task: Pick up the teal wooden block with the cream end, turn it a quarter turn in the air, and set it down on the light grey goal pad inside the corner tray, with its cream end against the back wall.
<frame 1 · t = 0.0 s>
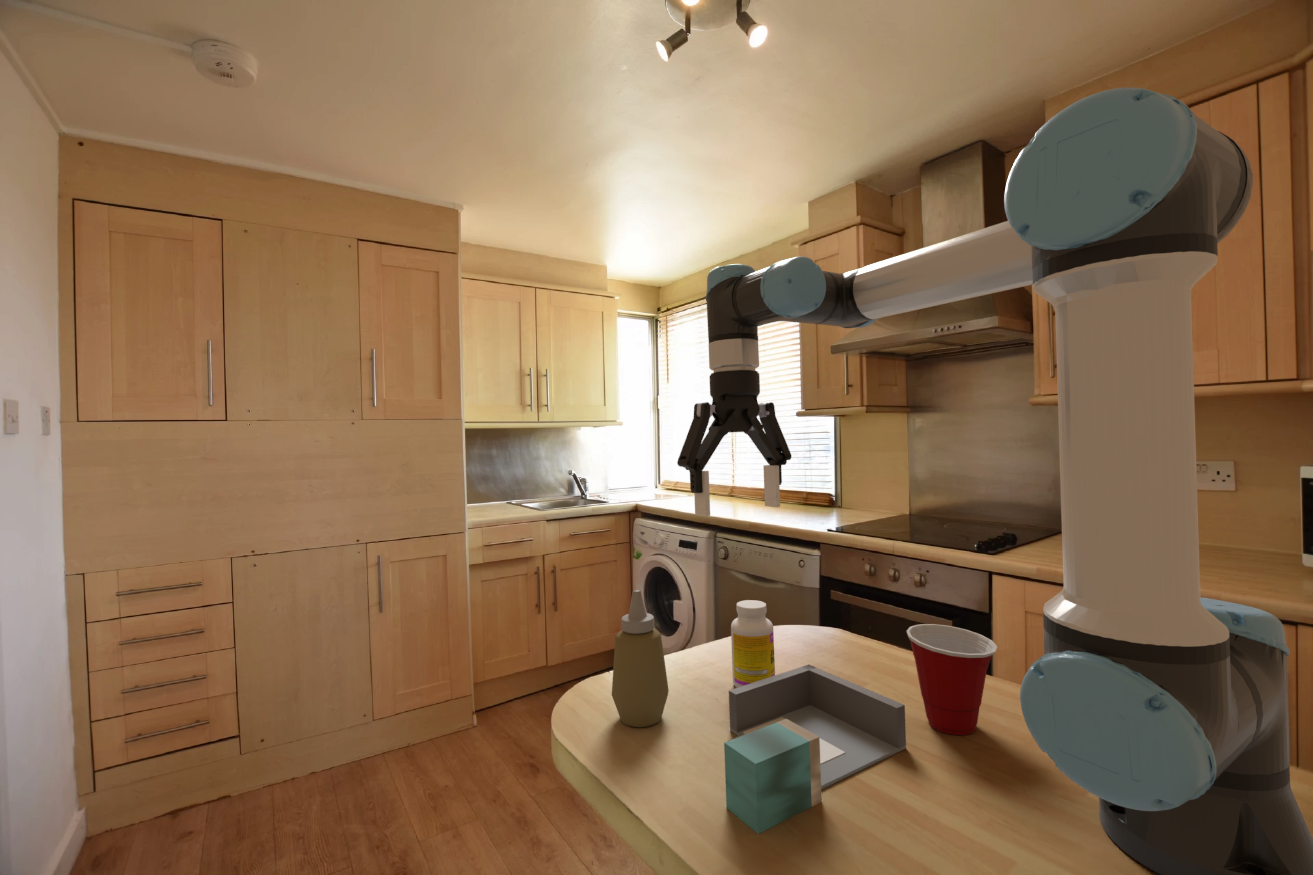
hand: (738, 511, 89), 28 cm above the counter, fingers open, 13 cm apart
plastic cup: (953, 726, 78), on the counter
supplement bottle: (754, 686, 93), on the counter
squeeze bottle: (641, 719, 83), on the counter
teal block: (804, 790, 65), on the counter
corner tray: (814, 738, 76), on the counter
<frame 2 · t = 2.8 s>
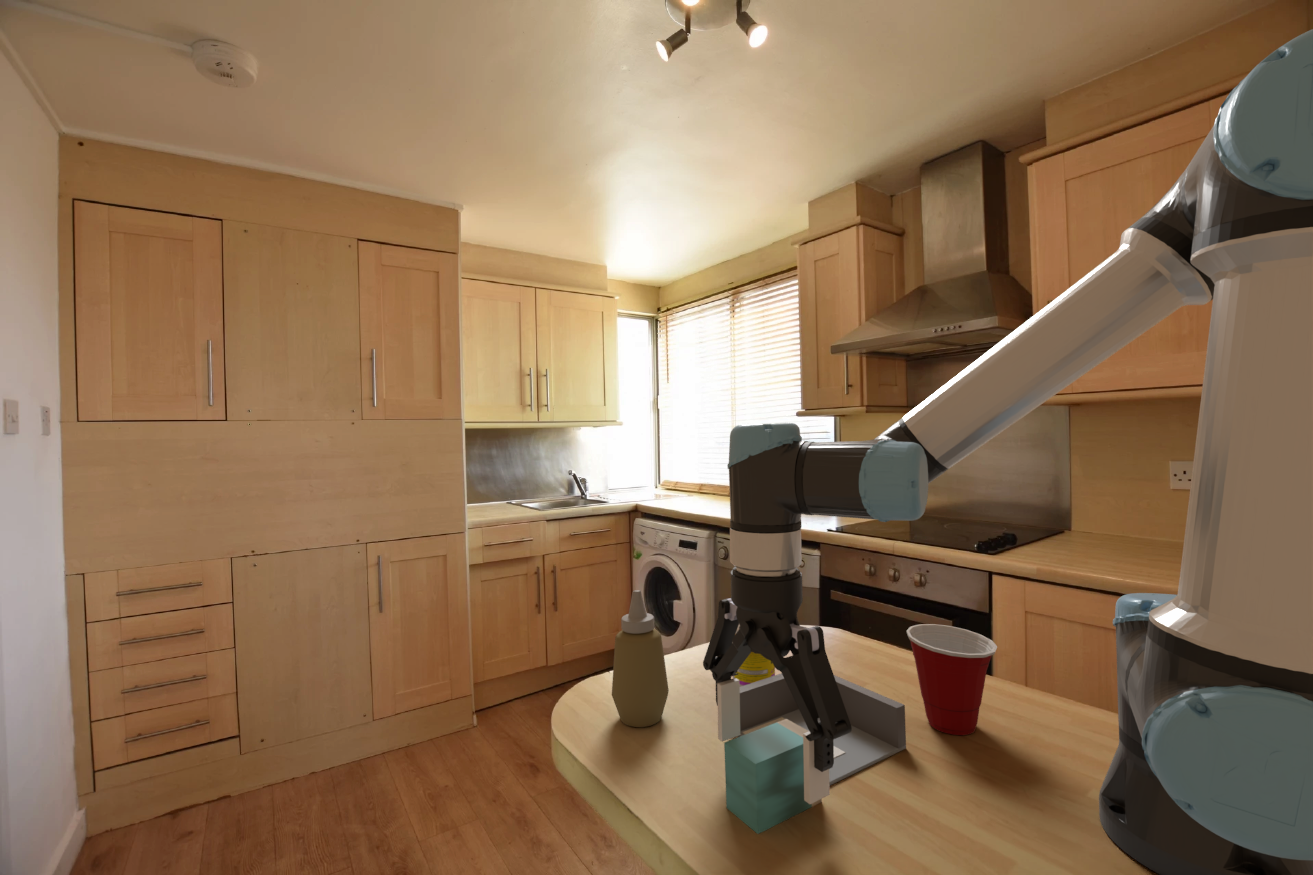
hand: (769, 764, 63), 4 cm above the counter, fingers open, 13 cm apart
nothing on the counter moved.
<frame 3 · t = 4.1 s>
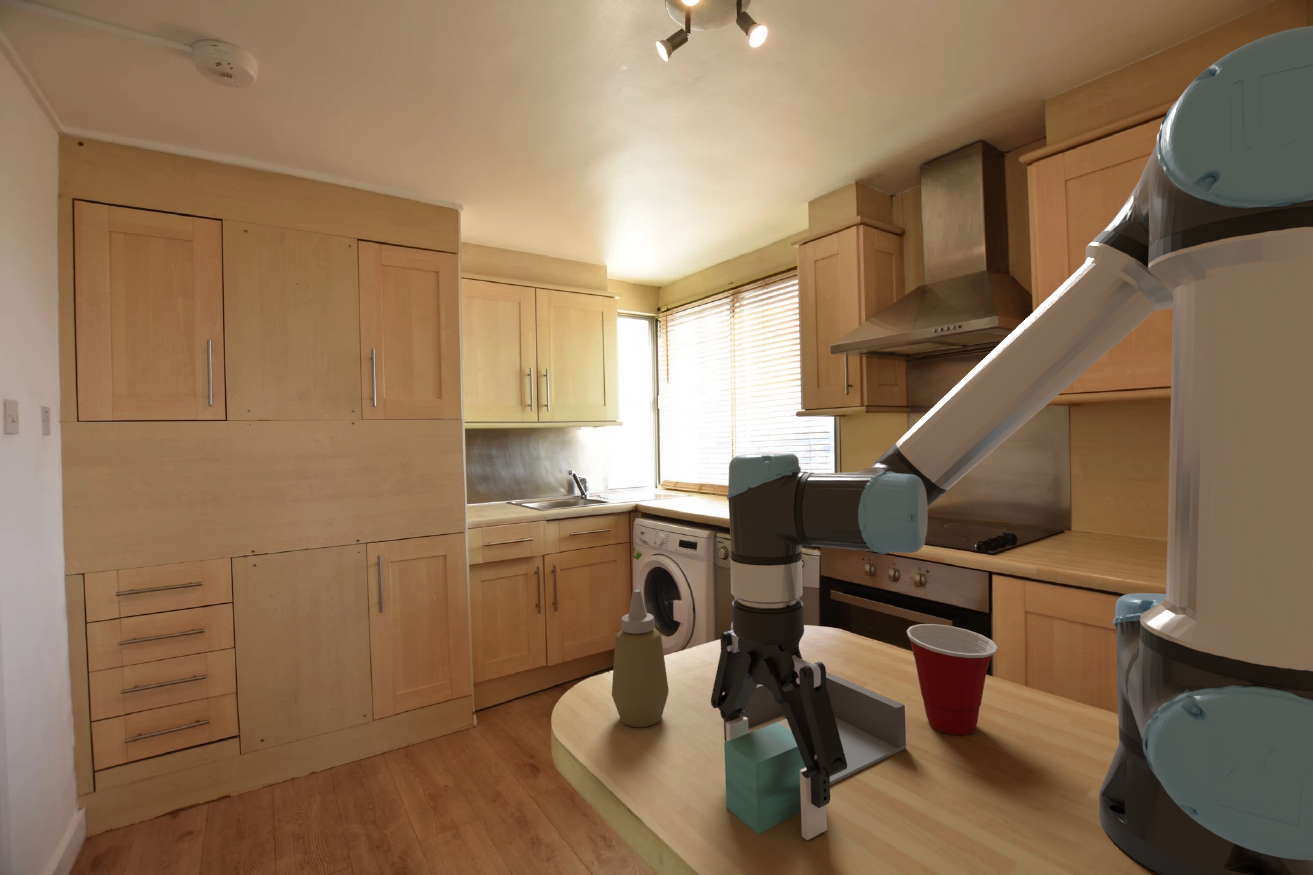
hand: (773, 802, 63), 0 cm above the counter, fingers open, 11 cm apart
nothing on the counter moved.
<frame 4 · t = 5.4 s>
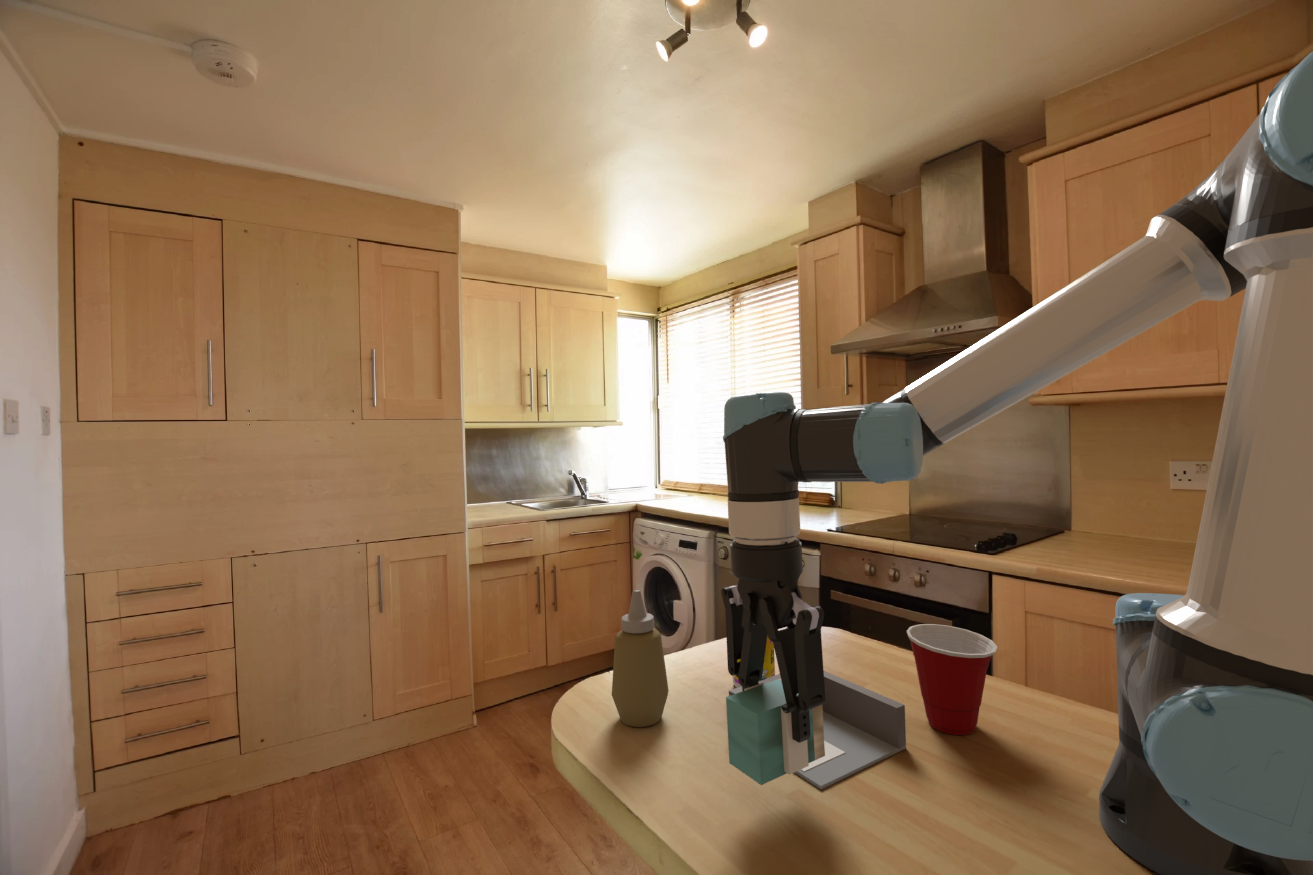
hand: (777, 756, 63), 5 cm above the counter, fingers closed on teal block, 5 cm apart
teal block: (807, 746, 65), point 5 cm above the counter, touching gripper
everything else where it was.
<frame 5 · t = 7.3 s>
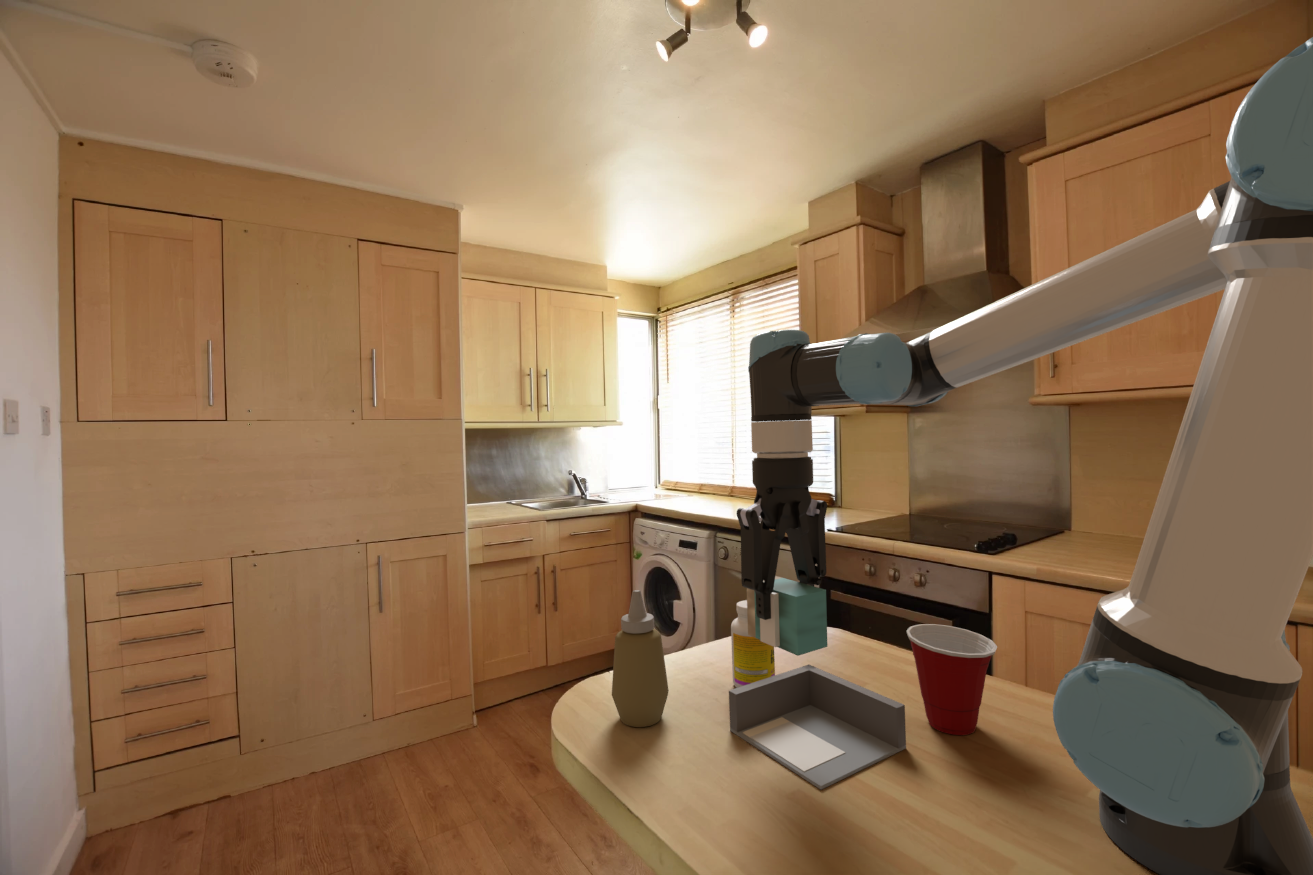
hand: (786, 638, 75), 14 cm above the counter, fingers closed on teal block, 5 cm apart
teal block: (762, 630, 79), point 13 cm above the counter, touching gripper
everything else where it was.
when the fingers open (1 cm above the counter, at t = 9.5 s): teal block stays where it is, resting on corner tray.
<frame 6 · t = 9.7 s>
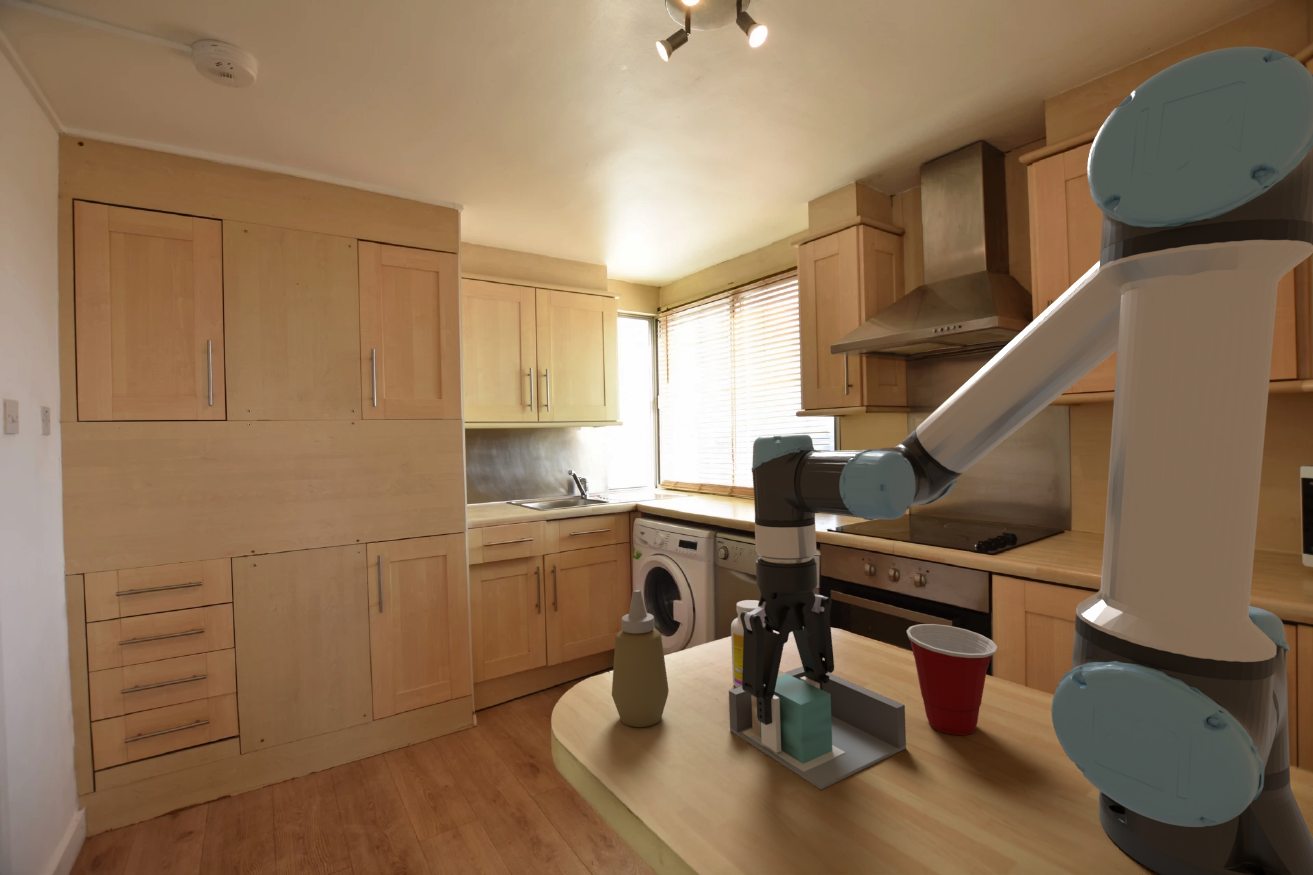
hand: (791, 738, 75), 1 cm above the counter, fingers open, 6 cm apart
teal block: (767, 726, 79), resting on corner tray
everything else where it was.
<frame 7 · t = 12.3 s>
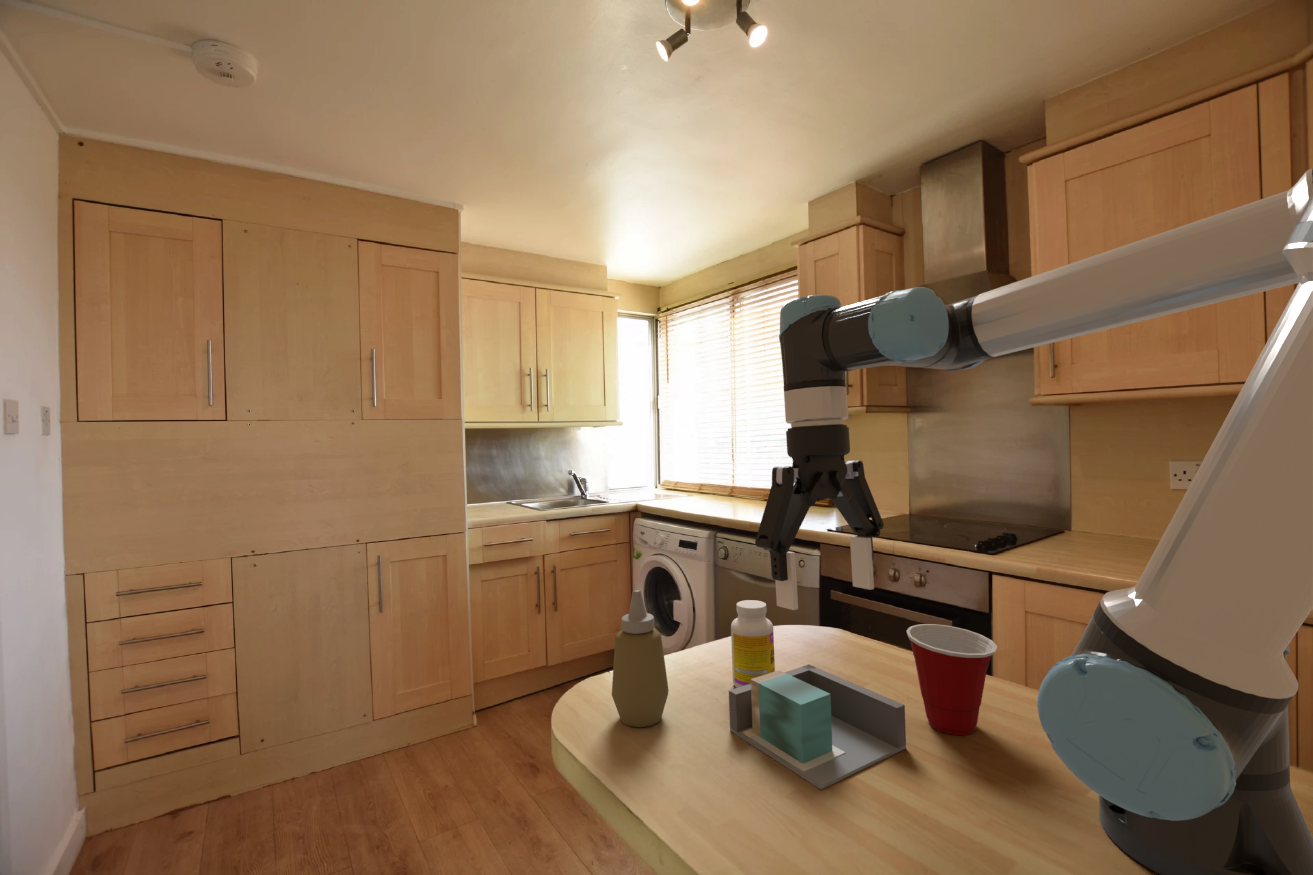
hand: (827, 597, 72), 19 cm above the counter, fingers open, 13 cm apart
nothing on the counter moved.
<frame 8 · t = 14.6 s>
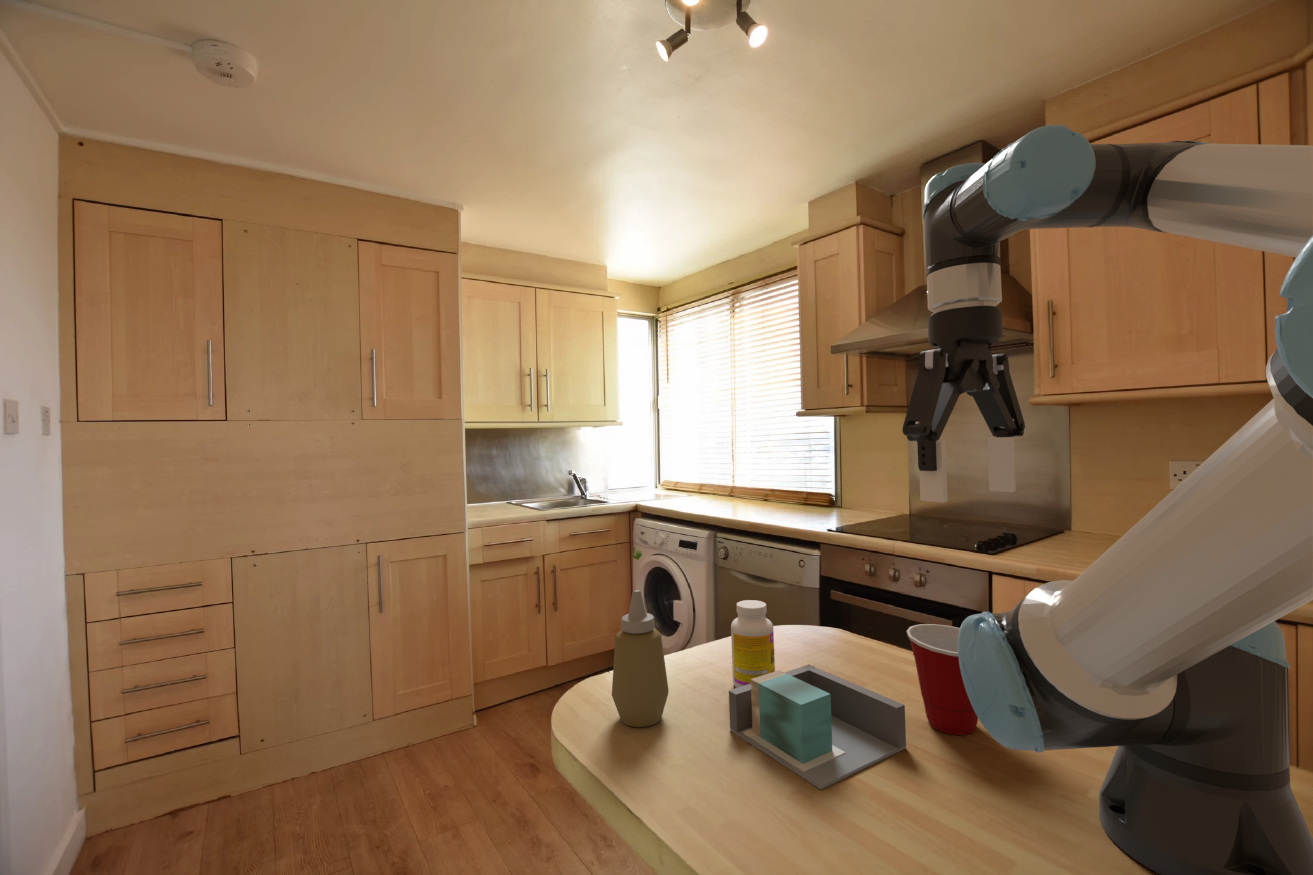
hand: (969, 496, 67), 32 cm above the counter, fingers open, 13 cm apart
nothing on the counter moved.
at the end: teal block 0.1 cm from the target spot, point 0.5 cm above the counter; teal block tilted 0°; the gripper is holding nothing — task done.
